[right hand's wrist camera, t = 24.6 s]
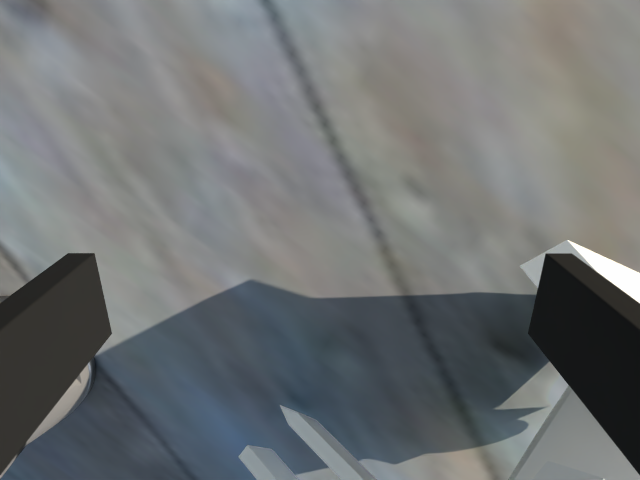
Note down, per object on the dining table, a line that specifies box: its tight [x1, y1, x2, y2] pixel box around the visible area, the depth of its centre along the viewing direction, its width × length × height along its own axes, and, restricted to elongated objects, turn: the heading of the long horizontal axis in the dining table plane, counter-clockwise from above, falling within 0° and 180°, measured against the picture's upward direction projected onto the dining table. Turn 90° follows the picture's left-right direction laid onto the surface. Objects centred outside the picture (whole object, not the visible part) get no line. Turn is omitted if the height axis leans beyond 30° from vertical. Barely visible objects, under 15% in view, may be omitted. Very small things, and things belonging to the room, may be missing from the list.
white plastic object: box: [238, 240, 640, 480], centre depth 34 cm, size 37×45×31 cm
